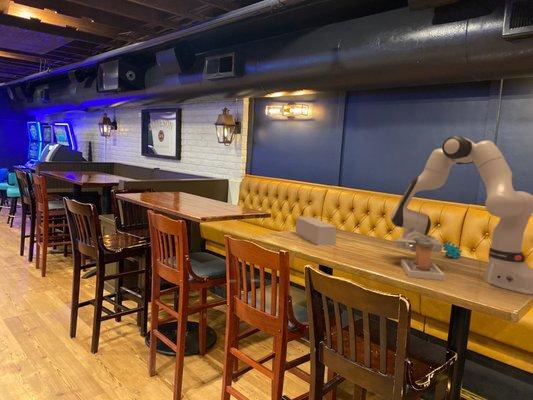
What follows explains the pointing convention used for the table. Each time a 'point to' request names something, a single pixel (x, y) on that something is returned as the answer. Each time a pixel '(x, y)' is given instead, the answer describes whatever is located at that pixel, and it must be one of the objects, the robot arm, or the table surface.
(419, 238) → the brown pin with head
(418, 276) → the housing
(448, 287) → the table surface
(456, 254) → the gear
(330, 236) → the grey rectangular brick
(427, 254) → the grey capped peg
